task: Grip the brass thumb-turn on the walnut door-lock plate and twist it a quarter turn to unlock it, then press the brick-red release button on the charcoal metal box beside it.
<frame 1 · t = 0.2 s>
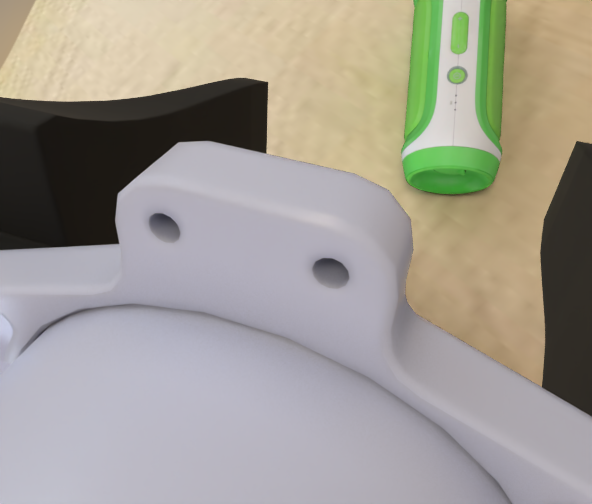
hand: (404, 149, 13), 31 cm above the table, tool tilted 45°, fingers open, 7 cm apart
speaker: (451, 97, 45), on the table
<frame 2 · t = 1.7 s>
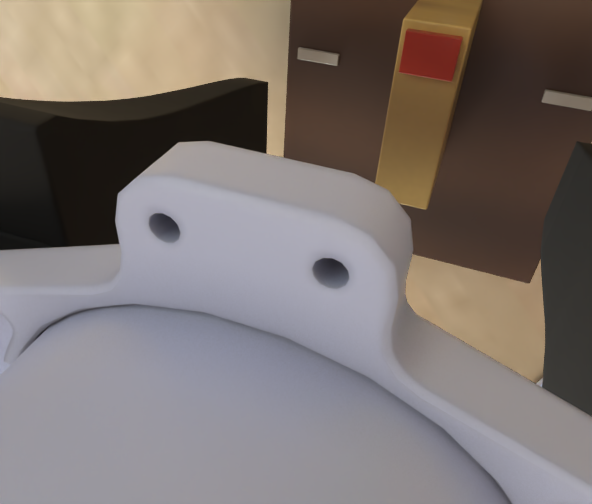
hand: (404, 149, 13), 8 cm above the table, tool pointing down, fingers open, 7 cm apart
lock plate: (446, 53, 19), on the table
thumb turn: (426, 99, 15), point 5 cm above the table, hinge at 0.0°
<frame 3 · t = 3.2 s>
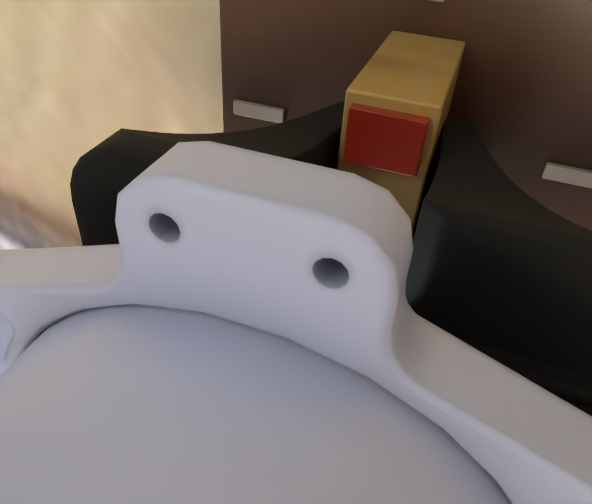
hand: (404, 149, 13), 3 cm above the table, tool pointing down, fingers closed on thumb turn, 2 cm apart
lock plate: (423, 103, 15), on the table
thumb turn: (390, 180, 11), point 5 cm above the table, hinge at 0.0°, touching gripper
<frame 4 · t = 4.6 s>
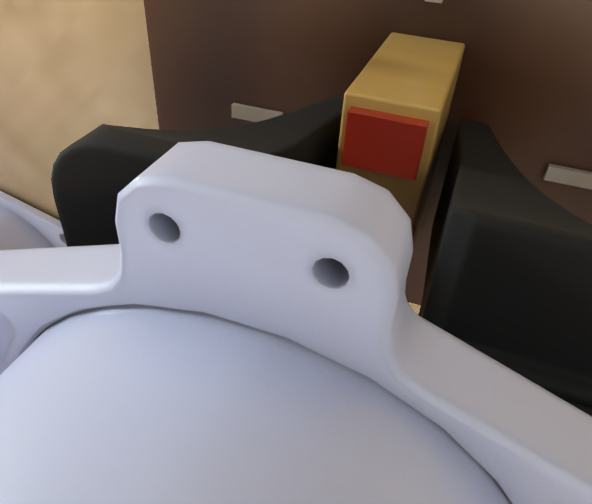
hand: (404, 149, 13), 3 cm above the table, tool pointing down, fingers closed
lock plate: (423, 105, 15), on the table
thumb turn: (389, 183, 11), point 5 cm above the table, hinge at 89.5°
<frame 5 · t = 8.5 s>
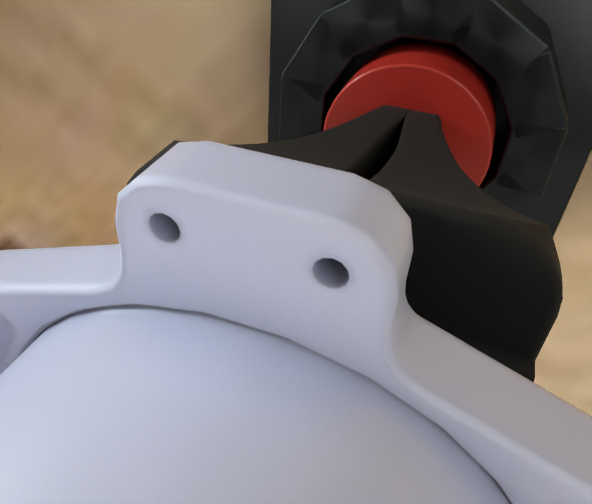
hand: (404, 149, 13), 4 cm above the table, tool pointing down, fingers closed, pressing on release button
release button: (409, 134, 13), point 3 cm above the table, slide at -0.4 cm, touching gripper
release box: (427, 93, 16), on the table
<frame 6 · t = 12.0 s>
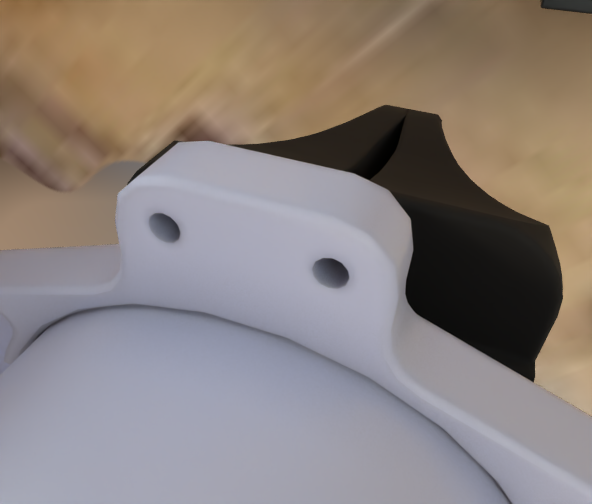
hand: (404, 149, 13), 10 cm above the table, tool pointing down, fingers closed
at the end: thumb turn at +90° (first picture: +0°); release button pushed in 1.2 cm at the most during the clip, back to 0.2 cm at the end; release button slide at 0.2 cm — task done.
